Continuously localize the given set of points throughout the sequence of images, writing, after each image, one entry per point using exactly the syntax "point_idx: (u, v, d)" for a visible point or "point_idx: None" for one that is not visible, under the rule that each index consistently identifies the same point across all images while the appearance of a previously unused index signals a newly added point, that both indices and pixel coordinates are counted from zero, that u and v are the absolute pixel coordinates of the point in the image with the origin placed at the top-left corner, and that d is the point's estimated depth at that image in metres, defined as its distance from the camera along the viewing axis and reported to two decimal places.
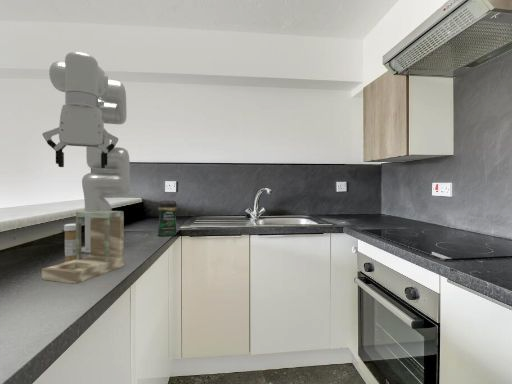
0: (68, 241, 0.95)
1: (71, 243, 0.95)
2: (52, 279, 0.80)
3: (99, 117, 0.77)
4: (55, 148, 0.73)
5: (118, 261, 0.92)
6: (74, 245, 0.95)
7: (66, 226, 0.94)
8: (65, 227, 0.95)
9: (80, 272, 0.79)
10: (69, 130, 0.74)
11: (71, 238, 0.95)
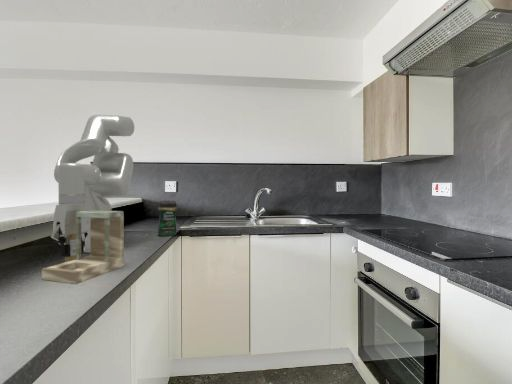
0: None
1: (71, 243, 0.95)
2: (52, 279, 0.80)
3: (87, 210, 1.00)
4: (65, 243, 0.93)
5: (118, 261, 0.92)
6: (74, 245, 0.95)
7: None
8: None
9: (80, 272, 0.79)
10: (70, 225, 0.94)
11: (71, 238, 0.95)
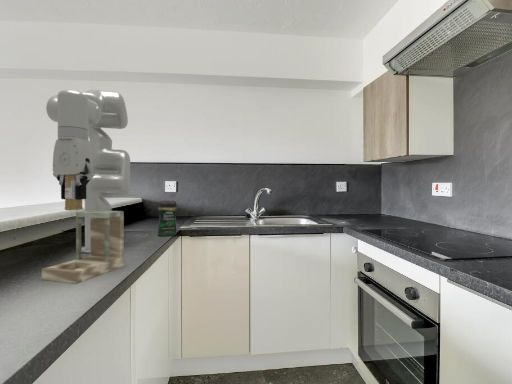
0: None
1: None
2: (52, 279, 0.80)
3: None
4: None
5: (118, 261, 0.92)
6: None
7: None
8: None
9: (80, 272, 0.79)
10: None
11: None
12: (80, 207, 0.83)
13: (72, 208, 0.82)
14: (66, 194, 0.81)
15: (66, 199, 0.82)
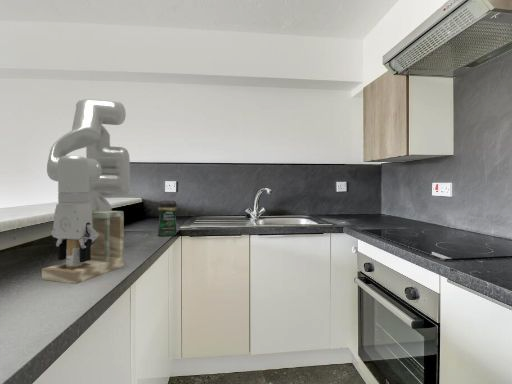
0: None
1: None
2: (52, 279, 0.80)
3: None
4: None
5: (118, 261, 0.92)
6: None
7: None
8: None
9: (80, 272, 0.79)
10: None
11: None
12: None
13: None
14: (67, 262, 0.82)
15: (67, 266, 0.82)
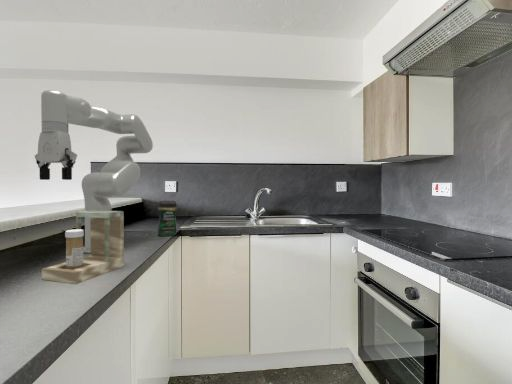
0: (82, 248, 0.84)
1: None
2: (52, 279, 0.80)
3: None
4: None
5: (118, 261, 0.92)
6: None
7: (80, 232, 0.83)
8: (79, 233, 0.83)
9: (80, 272, 0.79)
10: None
11: None
12: None
13: None
14: (67, 262, 0.82)
15: (67, 267, 0.82)
